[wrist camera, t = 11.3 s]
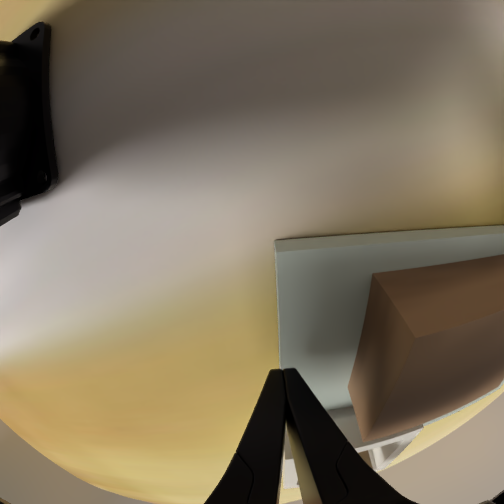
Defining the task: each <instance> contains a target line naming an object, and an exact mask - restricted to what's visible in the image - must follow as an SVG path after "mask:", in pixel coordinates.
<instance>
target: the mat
mask: <svg viewBox="0 0 504 504" xmlns="http://www.w3.org/2000/svg"><path fill="white" fill-rule="evenodd" d="M274 250H275V269H276V289H277V311H278V337H279V368H280V369H282V370H283V369H284V368H292V367H294V368H296V369H297V370H298V372H299V373H300V375H301V376H302V378H303V379H304V380H305V382H306V383H307V385H308V386H309V387H310V389H311V390H312V392H313V393H314V394H315V396H316V397H317V399H318V400H319V401H320V403H321V404H322V406H323V407H324V408H325V410H326V411H329V410H335V409H341V408H346V407H351V406H353V404H352V401H351V397H350V394H349V391H348V383H349V380H350V376H351V373H352V369H353V365H354V362H355V358H356V354H357V350H358V345H359V341H360V337H361V332H362V328H363V323H364V318H365V313H366V308H367V303H368V297H369V291H370V285H371V279H372V273H379V272H387V271H395V270H403V269H410V268H418V267H425V266H432V265H439V264H446V263H453V262H459V261H466V260H472V259H478V258H484V257H490V256H496V255H502V254H504V225H498V226H480V227H462V228H445V229H429V230H413V231H398V232H383V233H369V234H355V235H341V236H327V237H314V238H301V239H288V240H275V241H274ZM503 383H504V380H503V381H502V382H501V384H500V385H499V386H498V387H497V388H495V389H494V390H492V391H490V392H489V393H487V394H485V395H483V396H481V397H480V398H478V399H476V400H474V401H472V402H470V403H468V404H466V405H464V406H462V407H460V408H458V409H456V410H454V411H452V412H450V413H448V414H445V415H443V416H441V417H438V418H436V419H434V420H431V421H429V422H426V423H424V424H423V426H426V425H428V424H431V423H433V422H436V421H438V420H440V419H443V418H445V417H447V416H449V415H452V414H454V413H456V412H458V411H460V410H462V409H464V408H466V407H468V406H470V405H472V404H474V403H475V402H477V401H479V400H481V399H483V398H484V397H486V396H488V395H490V394H491V393H493V392H495V391H496V390H498V389H500V387H501V386H502V385H503Z"/></svg>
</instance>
